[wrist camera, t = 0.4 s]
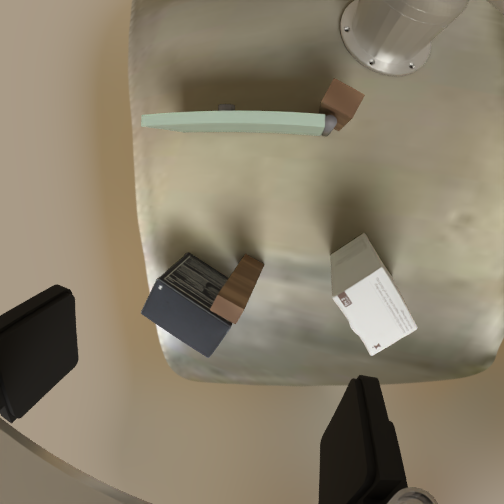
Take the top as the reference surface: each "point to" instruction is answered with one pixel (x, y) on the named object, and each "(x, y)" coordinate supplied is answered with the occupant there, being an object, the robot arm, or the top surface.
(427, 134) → the top surface
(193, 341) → the small box
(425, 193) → the top surface
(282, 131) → the door
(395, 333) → the skincare box
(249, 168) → the top surface
